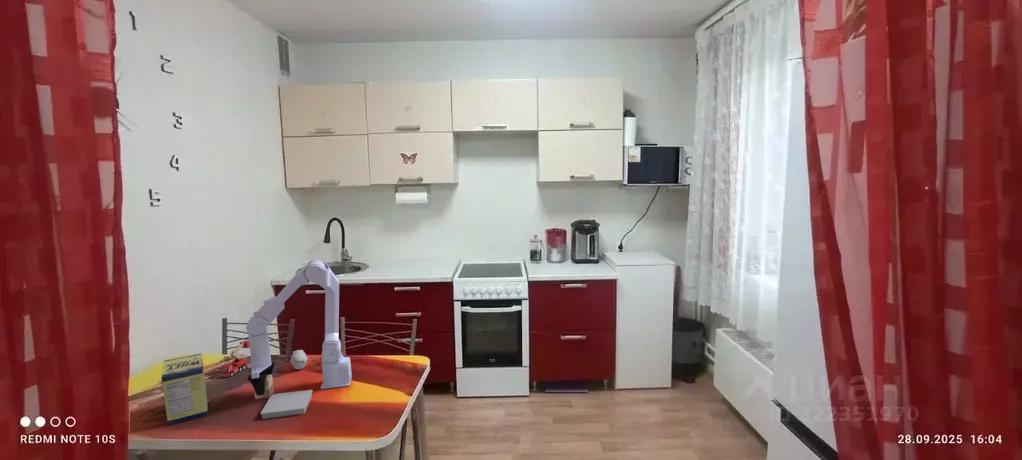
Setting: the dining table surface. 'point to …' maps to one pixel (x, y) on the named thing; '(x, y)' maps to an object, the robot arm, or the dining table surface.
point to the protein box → (184, 389)
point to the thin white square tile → (287, 404)
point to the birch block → (267, 388)
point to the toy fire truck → (235, 361)
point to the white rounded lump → (298, 359)
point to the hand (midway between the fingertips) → (263, 389)
